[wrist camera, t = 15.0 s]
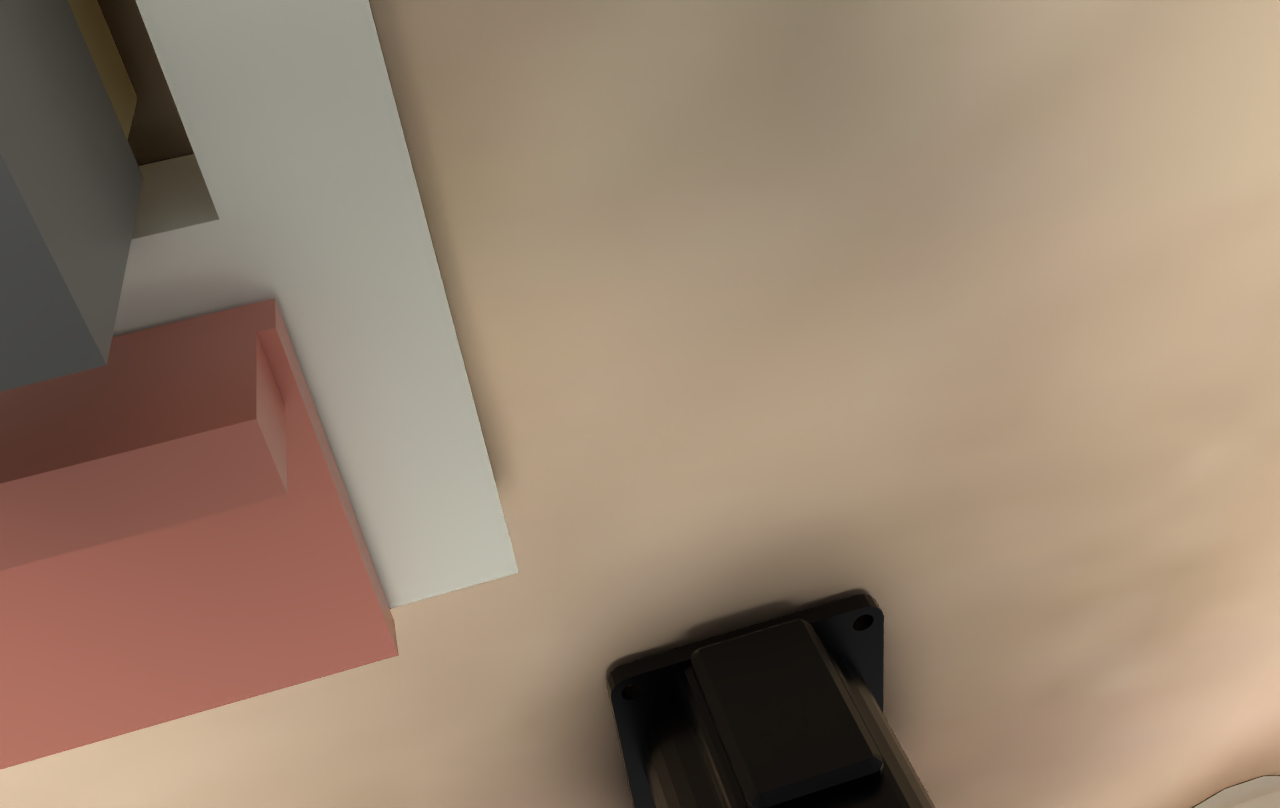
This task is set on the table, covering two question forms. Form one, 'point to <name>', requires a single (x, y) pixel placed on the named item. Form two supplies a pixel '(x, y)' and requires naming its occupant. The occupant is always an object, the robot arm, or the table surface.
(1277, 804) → the foam cup
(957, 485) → the table surface
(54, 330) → the plug
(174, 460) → the pink toy block
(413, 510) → the socket plate
